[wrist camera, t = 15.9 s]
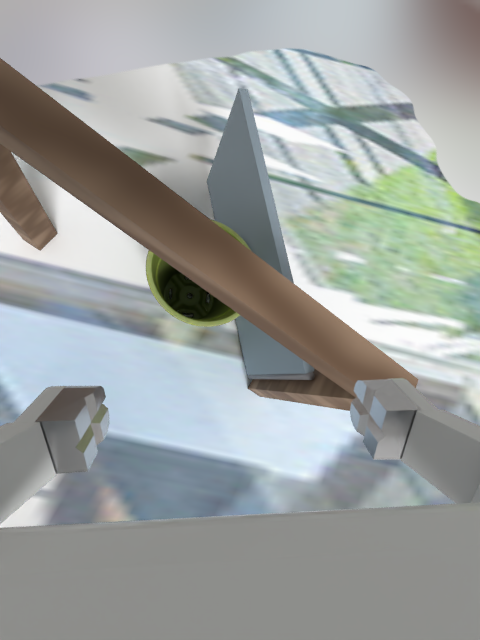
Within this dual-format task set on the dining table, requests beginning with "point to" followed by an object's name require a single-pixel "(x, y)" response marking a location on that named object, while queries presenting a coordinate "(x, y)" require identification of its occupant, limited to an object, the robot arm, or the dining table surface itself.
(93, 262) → the dining table surface
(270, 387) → the door frame
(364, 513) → the robot arm
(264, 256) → the door
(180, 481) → the dining table surface
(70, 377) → the dining table surface
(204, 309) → the plant pot
